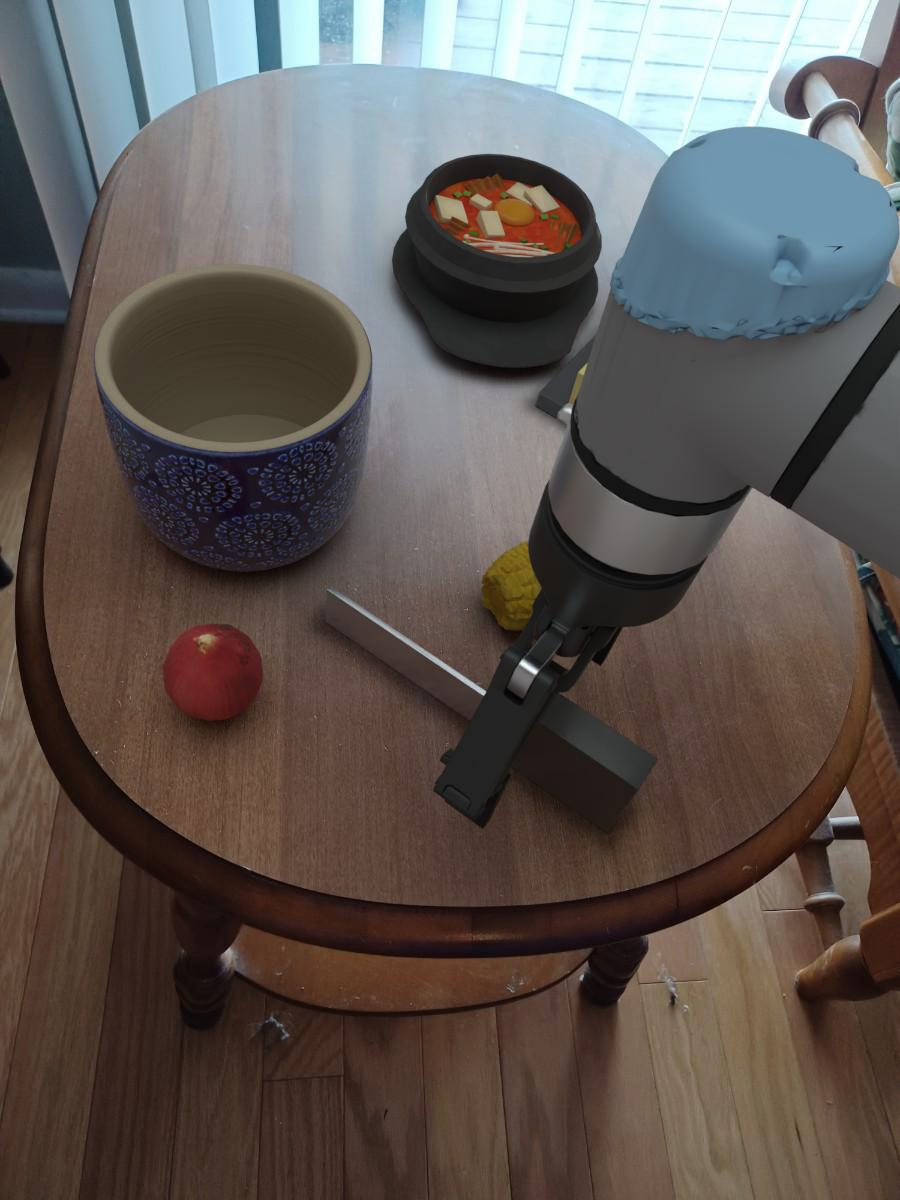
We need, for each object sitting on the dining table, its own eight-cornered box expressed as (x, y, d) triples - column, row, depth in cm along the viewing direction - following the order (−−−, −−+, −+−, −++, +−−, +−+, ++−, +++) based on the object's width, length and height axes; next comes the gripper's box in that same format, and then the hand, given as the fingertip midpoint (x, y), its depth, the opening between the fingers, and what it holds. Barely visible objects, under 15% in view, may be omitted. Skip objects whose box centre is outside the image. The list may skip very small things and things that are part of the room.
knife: (625, 804, 60) (658, 758, 54) (606, 833, 59) (638, 789, 53) (338, 608, 65) (341, 548, 59) (316, 631, 64) (316, 572, 58)
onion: (211, 645, 62) (199, 576, 56) (283, 689, 61) (279, 624, 55) (152, 711, 59) (132, 646, 53) (226, 758, 58) (215, 698, 52)
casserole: (608, 392, 80) (636, 313, 73) (388, 376, 78) (396, 293, 71) (579, 212, 94) (600, 131, 87) (391, 194, 92) (398, 109, 85)
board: (714, 375, 83) (720, 362, 82) (639, 466, 76) (644, 454, 75) (616, 322, 86) (621, 308, 84) (535, 406, 78) (538, 392, 77)
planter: (137, 423, 72) (101, 257, 60) (355, 422, 75) (364, 263, 63) (123, 606, 63) (78, 455, 51) (371, 597, 66) (385, 452, 54)
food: (510, 658, 65) (527, 611, 60) (464, 598, 67) (476, 548, 62) (728, 538, 73) (758, 488, 68) (680, 488, 75) (706, 436, 70)
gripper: (685, 321, 47) (580, 564, 65) (381, 659, 35) (354, 848, 52) (820, 395, 46) (675, 624, 63) (553, 779, 33) (465, 932, 51)
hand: (529, 726), depth 58 cm, fingers open, 13 cm apart
